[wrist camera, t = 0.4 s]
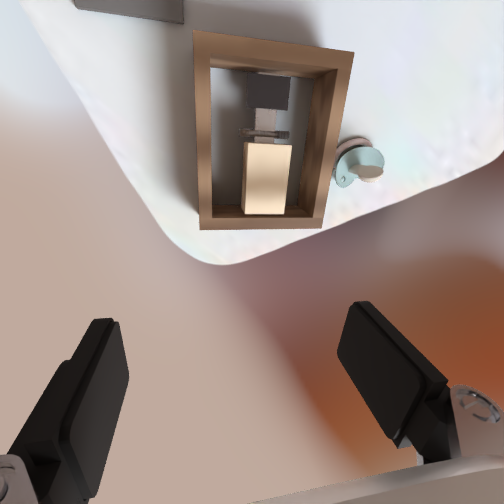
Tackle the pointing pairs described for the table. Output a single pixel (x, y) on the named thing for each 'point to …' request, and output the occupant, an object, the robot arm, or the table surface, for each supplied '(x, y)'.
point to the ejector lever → (266, 105)
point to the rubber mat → (137, 8)
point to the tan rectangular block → (265, 177)
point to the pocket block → (318, 132)
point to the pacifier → (358, 163)
